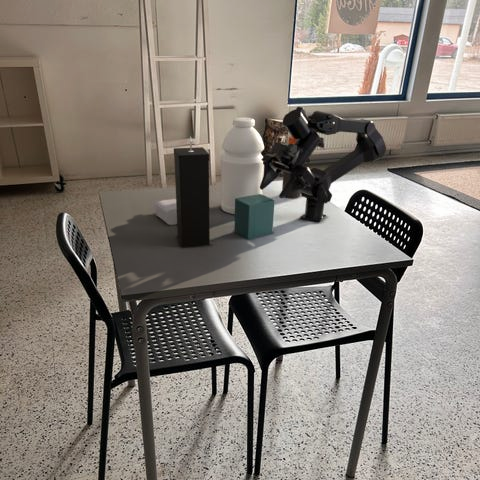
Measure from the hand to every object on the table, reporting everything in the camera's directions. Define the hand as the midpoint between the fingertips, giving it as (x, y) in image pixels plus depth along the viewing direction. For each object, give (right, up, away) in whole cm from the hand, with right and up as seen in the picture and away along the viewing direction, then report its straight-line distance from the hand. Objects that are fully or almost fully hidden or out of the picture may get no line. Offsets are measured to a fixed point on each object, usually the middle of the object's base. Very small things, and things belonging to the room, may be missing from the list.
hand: (270, 192), depth 144 cm
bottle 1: (-8, 0, +21) cm, 23 cm away
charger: (-31, -4, +13) cm, 34 cm away
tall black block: (-22, -15, -4) cm, 27 cm away
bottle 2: (+10, +8, +34) cm, 37 cm away
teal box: (-5, -7, 0) cm, 8 cm away
